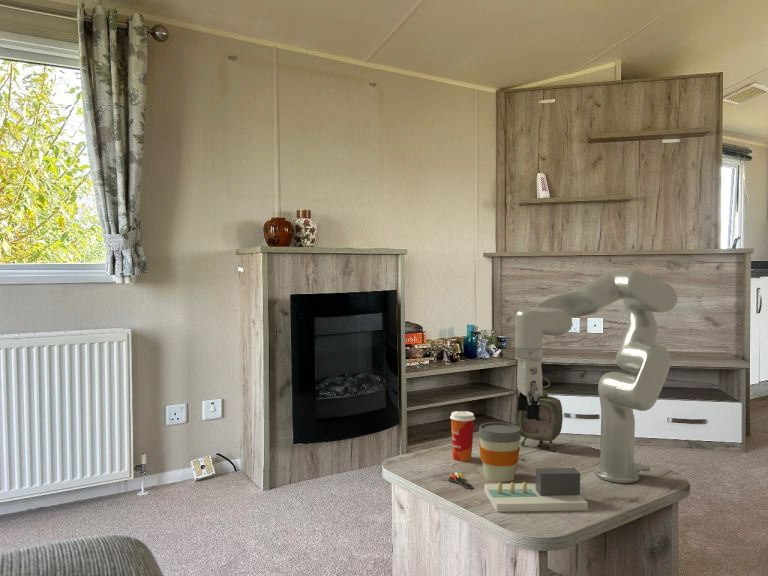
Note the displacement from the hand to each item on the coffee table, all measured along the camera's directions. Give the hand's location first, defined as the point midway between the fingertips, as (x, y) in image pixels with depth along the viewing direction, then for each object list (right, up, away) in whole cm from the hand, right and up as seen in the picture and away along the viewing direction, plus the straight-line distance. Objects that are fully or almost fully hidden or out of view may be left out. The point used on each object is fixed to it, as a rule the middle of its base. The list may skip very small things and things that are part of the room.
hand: (527, 414), depth 163 cm
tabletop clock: (+15, -21, +43) cm, 50 cm away
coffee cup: (-14, -21, +30) cm, 39 cm away
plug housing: (+7, -20, -4) cm, 22 cm away
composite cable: (-18, -22, +7) cm, 30 cm away
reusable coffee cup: (-6, -22, +13) cm, 26 cm away
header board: (0, -22, -5) cm, 23 cm away
